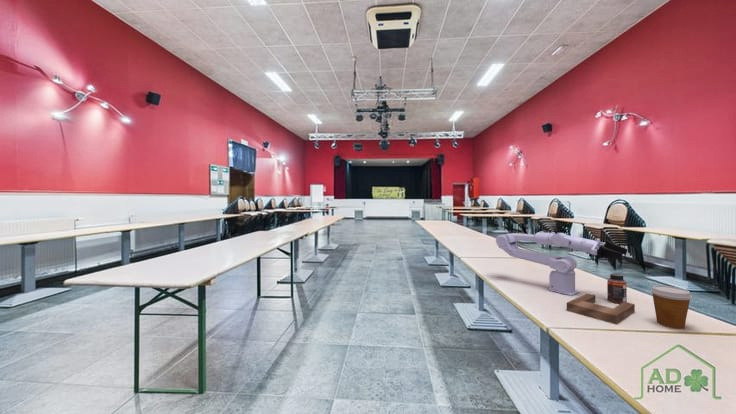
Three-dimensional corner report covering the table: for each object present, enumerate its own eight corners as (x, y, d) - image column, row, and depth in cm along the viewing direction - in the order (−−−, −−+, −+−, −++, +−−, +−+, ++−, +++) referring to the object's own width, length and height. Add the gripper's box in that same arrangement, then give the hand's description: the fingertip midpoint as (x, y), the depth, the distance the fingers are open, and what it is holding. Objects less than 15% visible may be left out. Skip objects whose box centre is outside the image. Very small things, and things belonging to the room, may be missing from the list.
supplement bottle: (630, 304, 112) (630, 276, 112) (613, 304, 113) (613, 276, 113) (620, 299, 118) (620, 272, 118) (604, 298, 119) (603, 272, 119)
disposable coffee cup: (701, 331, 89) (701, 293, 89) (670, 331, 90) (670, 294, 89) (669, 318, 99) (670, 284, 99) (642, 318, 99) (642, 285, 99)
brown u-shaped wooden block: (566, 310, 108) (566, 302, 108) (586, 300, 118) (586, 293, 118) (616, 324, 95) (616, 315, 95) (634, 312, 105) (634, 304, 105)
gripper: (579, 239, 118) (621, 248, 107) (590, 232, 126) (630, 240, 116) (576, 255, 119) (618, 265, 109) (587, 247, 128) (627, 256, 117)
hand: (624, 253), depth 112 cm, fingers open, 7 cm apart
